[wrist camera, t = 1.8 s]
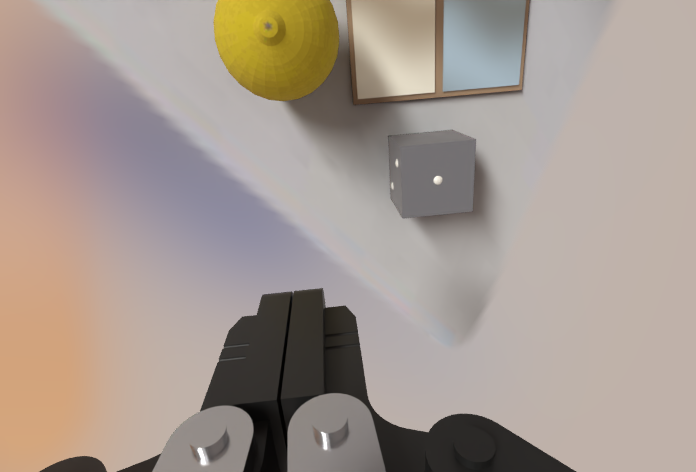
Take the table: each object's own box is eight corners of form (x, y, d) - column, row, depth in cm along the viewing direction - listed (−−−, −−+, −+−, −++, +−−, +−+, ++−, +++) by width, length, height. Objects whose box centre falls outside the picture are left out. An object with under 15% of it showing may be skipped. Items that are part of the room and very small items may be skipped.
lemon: (351, 15, 21) (368, -18, 14) (313, 112, 23) (310, 129, 16) (254, -36, 20) (215, -101, 13) (222, 71, 22) (171, 68, 14)
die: (386, 135, 24) (398, 147, 20) (453, 129, 24) (478, 139, 20) (388, 199, 25) (400, 220, 22) (452, 193, 26) (474, 213, 22)
